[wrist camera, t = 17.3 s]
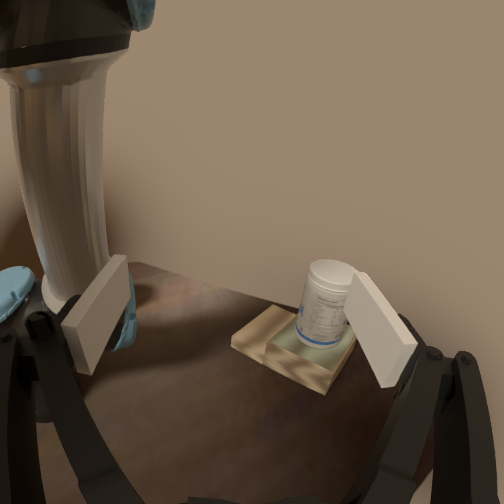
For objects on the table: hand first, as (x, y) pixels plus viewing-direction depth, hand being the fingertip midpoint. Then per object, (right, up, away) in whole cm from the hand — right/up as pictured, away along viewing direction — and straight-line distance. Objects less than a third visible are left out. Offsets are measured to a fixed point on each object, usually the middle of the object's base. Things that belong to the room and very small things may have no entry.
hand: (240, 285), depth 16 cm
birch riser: (+10, -19, +44) cm, 49 cm away
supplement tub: (+14, -15, +40) cm, 44 cm away
